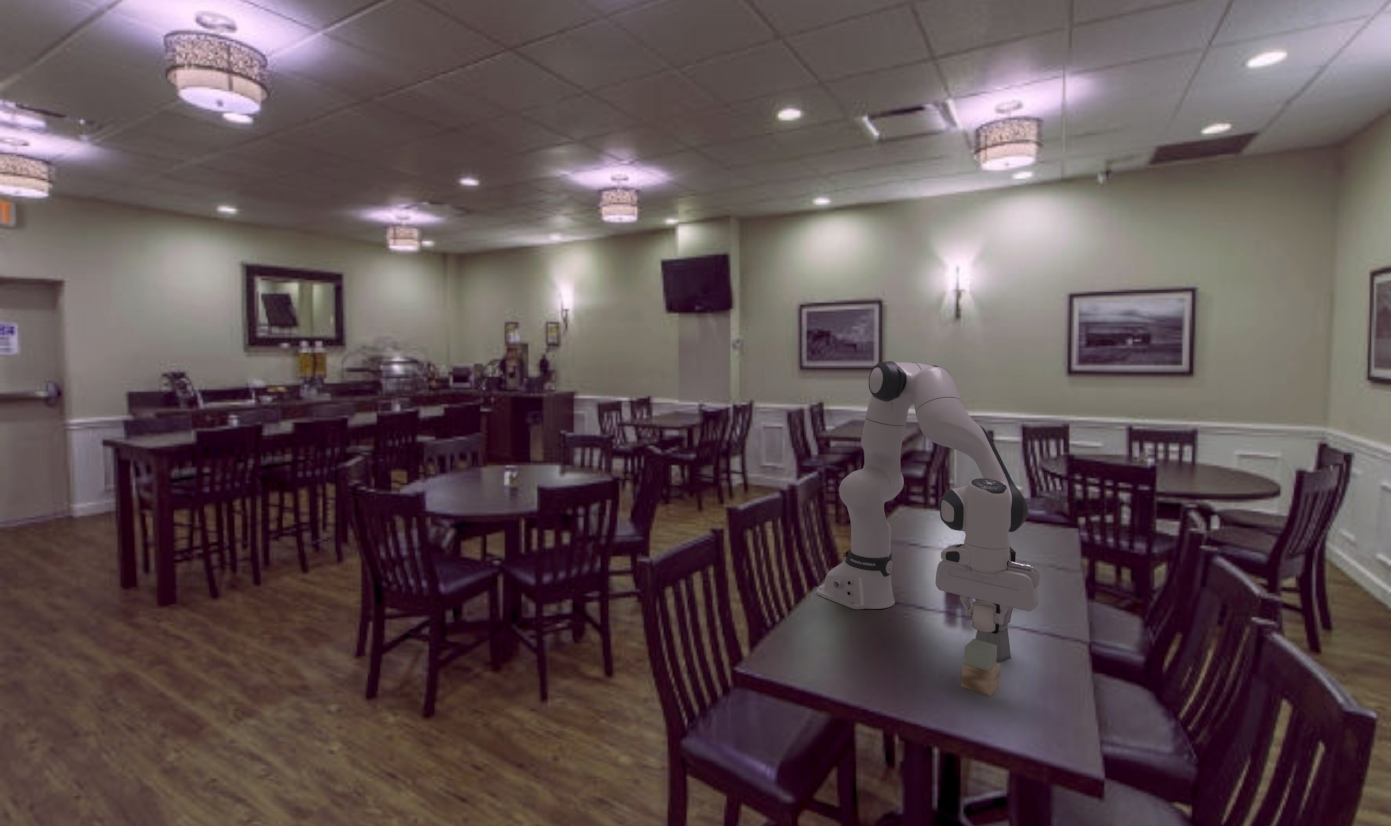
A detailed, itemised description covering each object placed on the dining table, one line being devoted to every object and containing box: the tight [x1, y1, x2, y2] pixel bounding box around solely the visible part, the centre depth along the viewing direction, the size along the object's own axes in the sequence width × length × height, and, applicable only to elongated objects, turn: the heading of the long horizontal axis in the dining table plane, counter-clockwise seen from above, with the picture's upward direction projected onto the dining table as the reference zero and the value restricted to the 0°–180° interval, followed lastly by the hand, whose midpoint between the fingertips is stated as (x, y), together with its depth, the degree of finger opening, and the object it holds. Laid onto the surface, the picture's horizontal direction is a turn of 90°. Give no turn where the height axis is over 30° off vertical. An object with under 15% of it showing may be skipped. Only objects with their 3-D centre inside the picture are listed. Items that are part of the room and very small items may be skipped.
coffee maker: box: [974, 599, 1014, 662], centre depth 156 cm, size 15×9×18 cm, turn 159°
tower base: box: [960, 662, 1001, 697], centre depth 142 cm, size 6×6×5 cm
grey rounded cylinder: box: [971, 601, 996, 632], centre depth 141 cm, size 5×5×5 cm
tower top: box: [963, 638, 998, 672], centre depth 142 cm, size 5×5×4 cm
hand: (983, 619), depth 141 cm, fingers closed on grey rounded cylinder, 5 cm apart
